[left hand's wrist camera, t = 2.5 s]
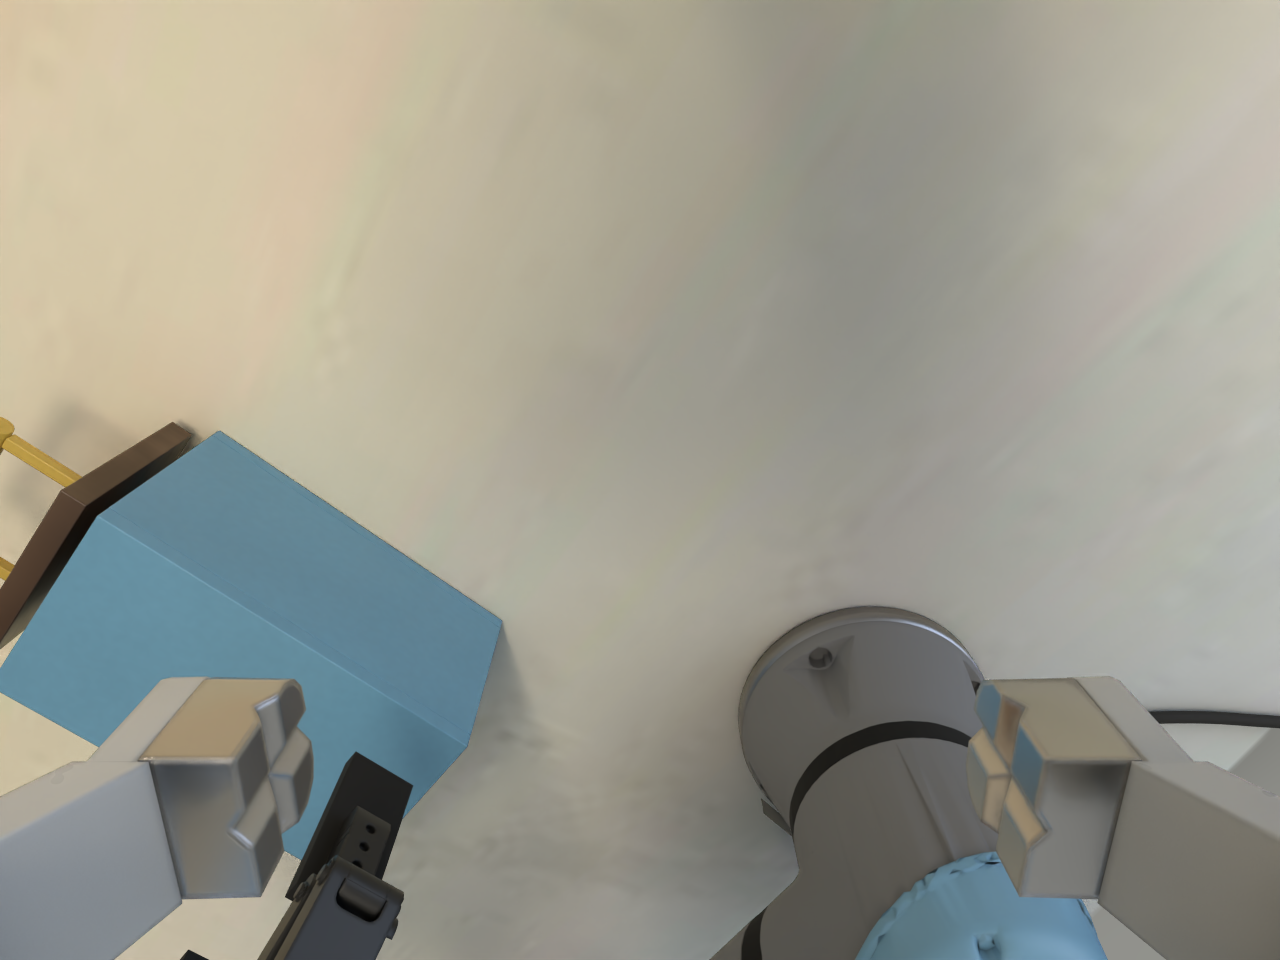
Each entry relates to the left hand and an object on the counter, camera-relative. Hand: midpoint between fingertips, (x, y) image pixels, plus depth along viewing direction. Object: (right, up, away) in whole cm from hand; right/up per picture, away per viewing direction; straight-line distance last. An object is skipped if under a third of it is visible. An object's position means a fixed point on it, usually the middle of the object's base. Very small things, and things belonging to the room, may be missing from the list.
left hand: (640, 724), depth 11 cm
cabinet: (-19, -4, +41) cm, 46 cm away
